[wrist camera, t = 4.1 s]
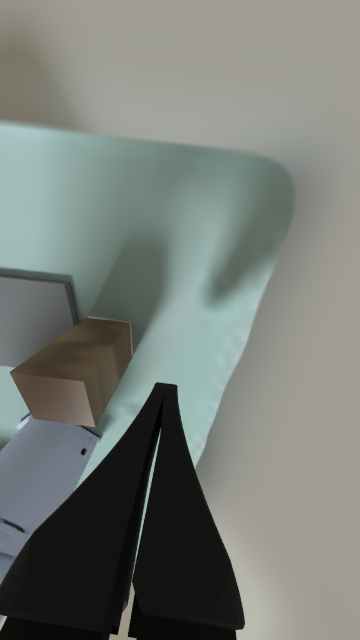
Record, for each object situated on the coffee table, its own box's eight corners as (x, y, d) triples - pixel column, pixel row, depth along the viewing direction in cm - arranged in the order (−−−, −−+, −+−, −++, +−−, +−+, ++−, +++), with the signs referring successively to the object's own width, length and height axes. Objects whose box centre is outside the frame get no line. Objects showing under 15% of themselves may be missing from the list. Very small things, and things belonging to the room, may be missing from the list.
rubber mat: (69, 282, 13) (64, 284, 13) (89, 372, 18) (85, 376, 17) (-90, 265, 14) (-102, 266, 13) (-32, 357, 18) (-39, 360, 18)
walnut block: (131, 321, 15) (83, 381, 8) (133, 355, 16) (95, 427, 10) (88, 316, 15) (9, 372, 8) (94, 351, 16) (33, 418, 10)
